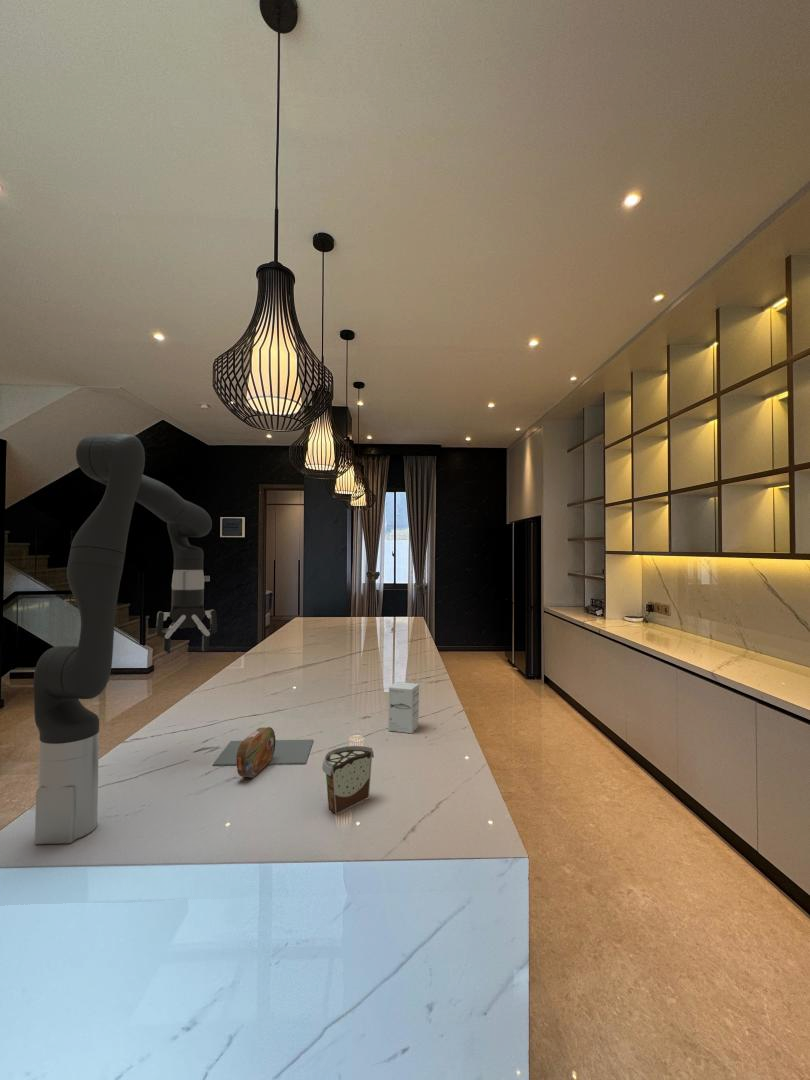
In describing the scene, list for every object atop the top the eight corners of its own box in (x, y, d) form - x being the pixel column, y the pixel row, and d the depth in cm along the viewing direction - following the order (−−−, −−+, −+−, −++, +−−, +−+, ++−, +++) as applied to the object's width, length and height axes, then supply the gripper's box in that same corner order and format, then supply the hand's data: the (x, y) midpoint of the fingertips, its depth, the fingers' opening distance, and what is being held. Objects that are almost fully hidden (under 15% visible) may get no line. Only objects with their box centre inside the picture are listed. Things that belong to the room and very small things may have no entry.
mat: (305, 764, 127) (305, 762, 127) (212, 765, 126) (212, 764, 126) (313, 740, 143) (313, 739, 143) (230, 742, 142) (230, 740, 142)
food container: (352, 787, 115) (353, 740, 115) (373, 795, 111) (374, 747, 111) (308, 808, 105) (309, 757, 105) (330, 818, 101) (330, 765, 101)
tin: (246, 784, 116) (246, 746, 116) (233, 783, 117) (233, 745, 117) (276, 756, 131) (276, 722, 131) (264, 755, 131) (264, 721, 131)
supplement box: (387, 731, 151) (387, 687, 152) (395, 723, 158) (395, 681, 159) (412, 734, 149) (412, 688, 149) (419, 726, 156) (419, 682, 156)
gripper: (159, 588, 128) (157, 656, 127) (220, 587, 135) (218, 651, 134) (155, 587, 134) (153, 652, 133) (214, 586, 142) (212, 647, 141)
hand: (186, 652), depth 134 cm, fingers open, 8 cm apart
